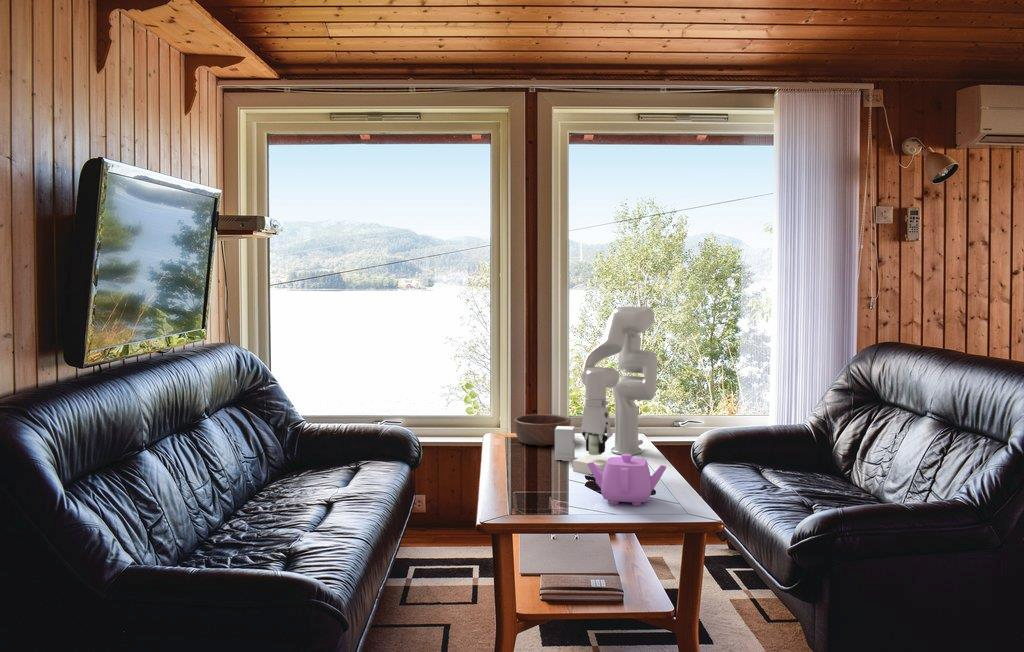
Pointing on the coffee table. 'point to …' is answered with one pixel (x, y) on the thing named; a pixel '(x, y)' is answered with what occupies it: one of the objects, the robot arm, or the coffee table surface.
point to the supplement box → (565, 443)
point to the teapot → (626, 479)
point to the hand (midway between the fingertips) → (595, 451)
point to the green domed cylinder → (594, 444)
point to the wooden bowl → (539, 428)
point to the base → (581, 463)
